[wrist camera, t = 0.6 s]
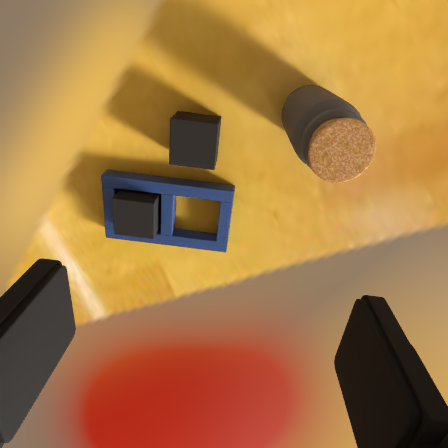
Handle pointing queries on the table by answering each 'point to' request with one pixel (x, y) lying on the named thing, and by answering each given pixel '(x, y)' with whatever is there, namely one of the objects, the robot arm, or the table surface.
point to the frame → (171, 208)
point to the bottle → (328, 134)
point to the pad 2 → (194, 140)
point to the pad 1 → (136, 213)
